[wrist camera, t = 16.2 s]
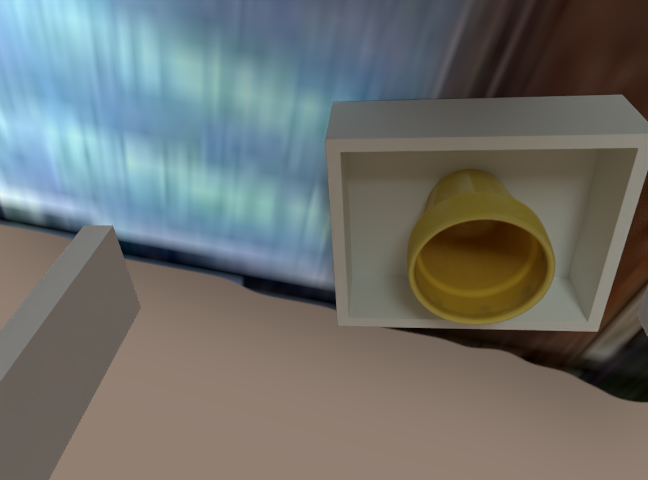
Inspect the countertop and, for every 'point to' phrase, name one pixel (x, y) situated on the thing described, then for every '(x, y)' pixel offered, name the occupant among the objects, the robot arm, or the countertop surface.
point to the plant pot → (478, 252)
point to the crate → (503, 163)
